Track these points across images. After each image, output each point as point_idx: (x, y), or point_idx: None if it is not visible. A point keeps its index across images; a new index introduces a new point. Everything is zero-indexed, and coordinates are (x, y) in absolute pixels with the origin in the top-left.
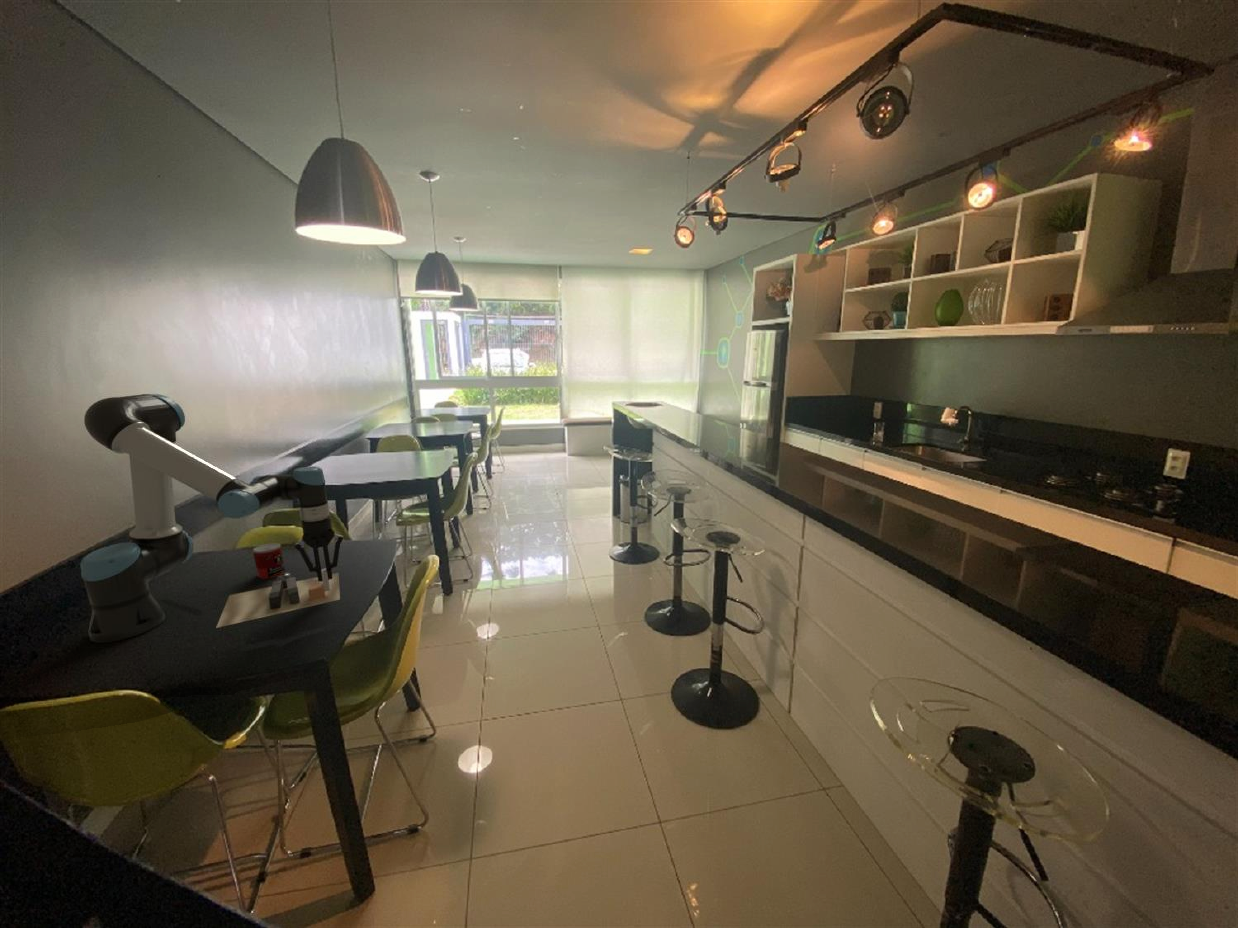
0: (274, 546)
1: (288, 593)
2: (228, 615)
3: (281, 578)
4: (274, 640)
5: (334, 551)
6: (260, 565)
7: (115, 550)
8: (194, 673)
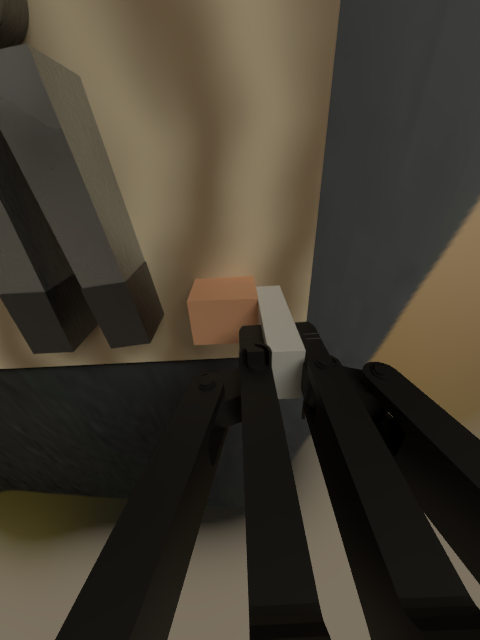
0: None
1: (108, 341)
2: None
3: None
4: (152, 448)
5: (471, 542)
6: None
7: None
8: (44, 484)
